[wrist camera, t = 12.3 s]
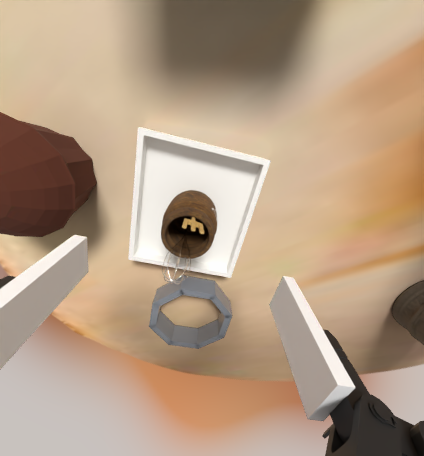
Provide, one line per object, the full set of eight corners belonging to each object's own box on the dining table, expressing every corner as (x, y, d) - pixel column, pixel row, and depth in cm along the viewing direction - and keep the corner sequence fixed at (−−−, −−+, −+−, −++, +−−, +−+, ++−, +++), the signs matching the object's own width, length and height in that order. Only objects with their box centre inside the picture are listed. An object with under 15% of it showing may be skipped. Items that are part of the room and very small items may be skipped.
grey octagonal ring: (160, 271, 30) (155, 284, 27) (236, 284, 32) (238, 298, 29) (151, 325, 35) (146, 341, 32) (217, 335, 36) (218, 351, 34)
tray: (145, 127, 22) (138, 127, 20) (264, 158, 24) (270, 160, 21) (134, 249, 29) (128, 259, 26) (229, 267, 30) (230, 277, 28)
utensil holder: (164, 225, 26) (131, 289, 15) (177, 179, 23) (148, 215, 13) (207, 238, 27) (205, 308, 16) (224, 195, 24) (235, 242, 13)
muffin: (99, 119, 22) (21, 108, 13) (115, 214, 26) (67, 256, 17) (-15, 114, 21) (-180, 98, 12) (22, 211, 26) (-77, 252, 17)
